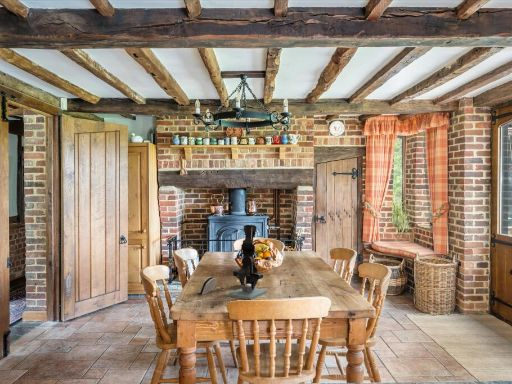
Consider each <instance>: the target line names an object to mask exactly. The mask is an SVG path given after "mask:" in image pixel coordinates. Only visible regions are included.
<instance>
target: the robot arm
mask: <svg viewBox="0 0 512 384" xmlns="http://www.w3.org/2000/svg"><path fill="white" fill-rule="evenodd" d="M257 231H258V229H257V225H255V224H245V225H243V232H244V236H245V237H244V240H242V244H241V247H240V255H242V259H241V264H242V265H241V268H240V269H237V270H234V271H233V272H232V276H233V277H235V278H237V279H238V280H239V282H240V285H241V287H242V285H243V284H252V290H253V289H254V288H255V289H256V286H257V284H258V281H259V280H261V279H264V274H263V273H262V272H259V271H258V267H257V265H256V263H255V260H254V255H255V253H256V246H255V244H254V238H255V236H256V233H257Z"/></svg>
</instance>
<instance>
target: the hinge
mask: <svg viewBox="0 0 512 384" xmlns="http://www.w3.org/2000/svg"><path fill="white" fill-rule="evenodd" d="M217 281H218V280H217V278H216V277H213V276H208V277H206V278H205V279H204V280H203V281H202V282H201V285H200V287H199V290H197V291H196V295H198V294H201V295H203V296H204V295H206V294H207V293H209V292H210V291H212V290H213V289H215V287H216V284H217Z"/></svg>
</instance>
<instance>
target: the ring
mask: <svg viewBox="0 0 512 384" xmlns="http://www.w3.org/2000/svg"><path fill="white" fill-rule="evenodd" d="M241 288H242V291H244V292H252V291H254V289H253V290H252V284H251V286H249V287H246V286H245V283H244V284H243V285H242V286H241Z"/></svg>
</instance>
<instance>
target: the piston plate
mask: <svg viewBox="0 0 512 384" xmlns="http://www.w3.org/2000/svg"><path fill="white" fill-rule="evenodd" d="M244 284H245V283H244ZM245 286H246V287H249V286H251V284H245ZM267 293H268V290H267V289H260V288H256V287H255V288H254V291H252V292H244V291H242V287H241V288H239V289H237V290H234V291H232V292H229V293H228V297H231V296H232V298H238V299H242V300H243V299H244V300H248V299H252V300H254V299H257V298H258V297H261V296H263V295H265V294H267ZM256 297H257V298H256Z"/></svg>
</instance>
